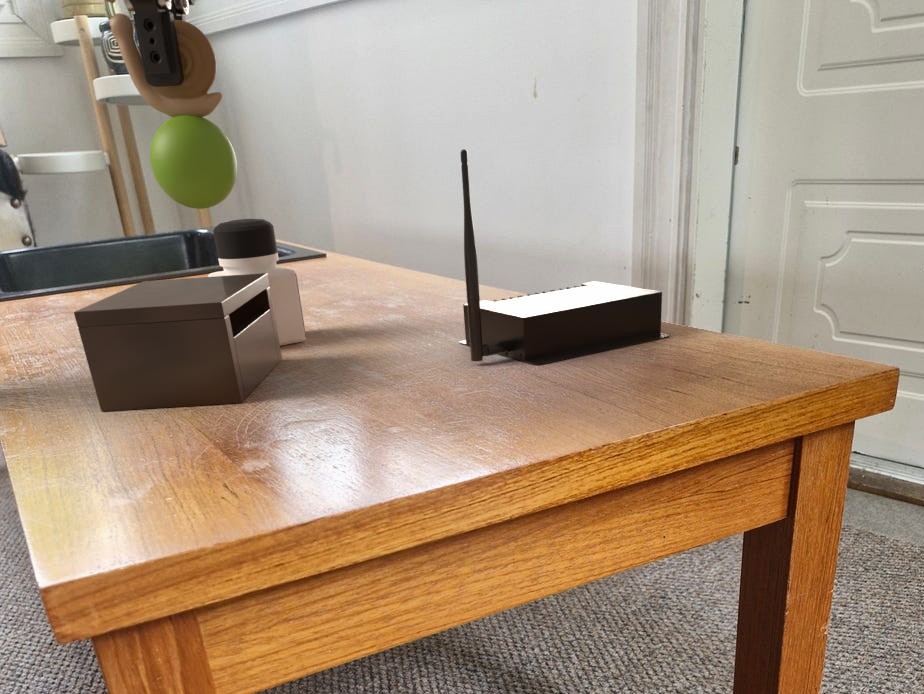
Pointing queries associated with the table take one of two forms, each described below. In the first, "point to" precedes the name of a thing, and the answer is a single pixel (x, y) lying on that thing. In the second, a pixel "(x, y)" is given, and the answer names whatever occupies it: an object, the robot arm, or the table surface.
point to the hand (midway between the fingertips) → (172, 85)
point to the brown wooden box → (181, 342)
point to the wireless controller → (553, 314)
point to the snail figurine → (184, 119)
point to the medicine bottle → (262, 270)
